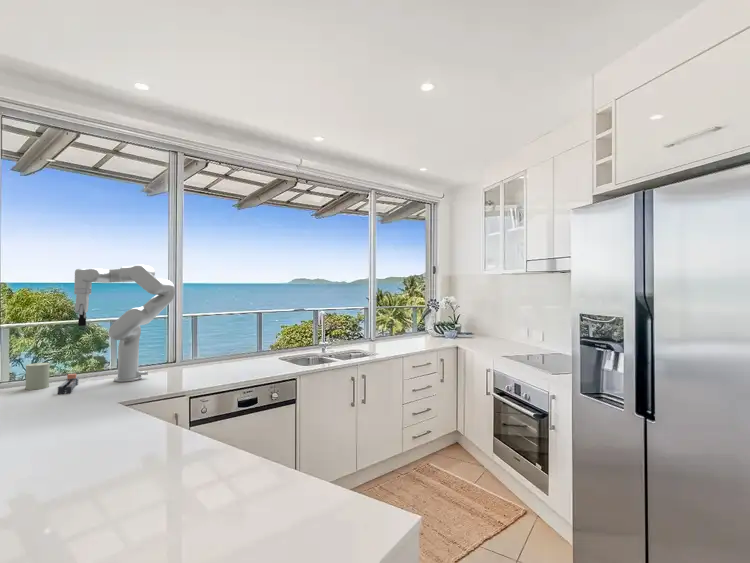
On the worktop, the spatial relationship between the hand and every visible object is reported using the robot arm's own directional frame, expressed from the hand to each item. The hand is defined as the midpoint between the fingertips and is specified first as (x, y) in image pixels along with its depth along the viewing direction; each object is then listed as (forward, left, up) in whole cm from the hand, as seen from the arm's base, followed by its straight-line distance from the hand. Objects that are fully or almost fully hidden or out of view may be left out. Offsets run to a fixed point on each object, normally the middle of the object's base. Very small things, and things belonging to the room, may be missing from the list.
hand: (82, 325), depth 219 cm
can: (+16, +12, -29) cm, 35 cm away
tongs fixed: (+2, +22, -29) cm, 37 cm away
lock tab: (+2, +15, -25) cm, 29 cm away
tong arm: (+4, +25, -29) cm, 38 cm away
